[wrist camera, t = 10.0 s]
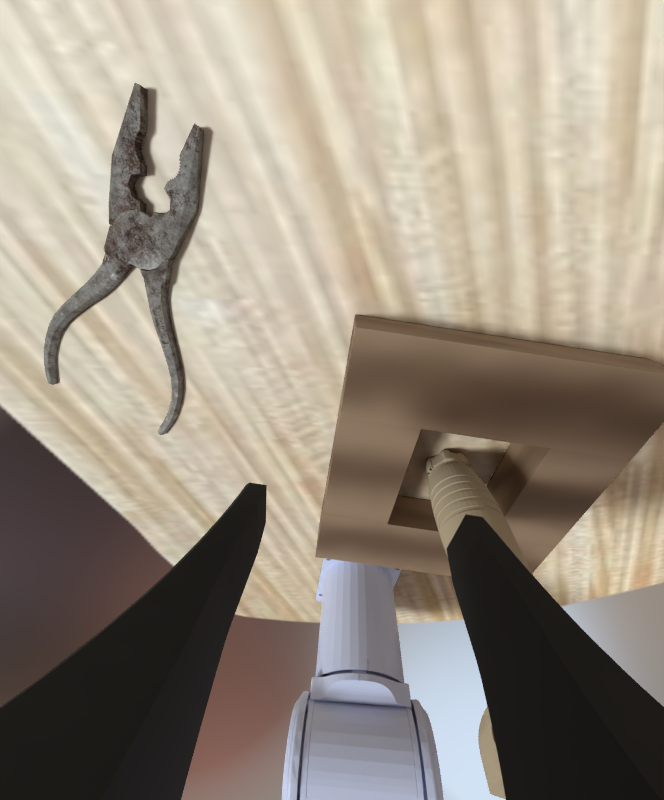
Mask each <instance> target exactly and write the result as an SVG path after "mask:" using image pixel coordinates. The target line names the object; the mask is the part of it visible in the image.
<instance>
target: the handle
mask: <svg viewBox="0 0 664 800" xmlns="http://www.w3.org/2000/svg"><path fill="white" fill-rule="evenodd" d="M470 465H471V464H470V462H469V461H468V460H467V459H466V457H465V456H464V455H463V454H461V453H452V452H450V451H449V450H443V451H441V452H440V453H439V454H438V455H436V456H434V457H432V458H429V459H428V460H427V462H426V471H427V474H428V480H429V481H428V486H429V494H430V500H431V504H432V509H433V513H434V517H435V521H436V524H437V528H438V531H439V534H440V538H441V541H442V543H443V546H444V549H445V551H446V554H447V547H448V545H449V543H450V542H451V540H452V538H453V536H454V534H455V533H456V531H457V529H458V527H459V525H460V524H461V522H462V520H463V518H464V516H465V515H473V516H480V517H483V518H484V519H485V520H486V521H487V523H488V524H489V525H490V526H491V527H492V528H493V530H494V531H495V532H496V533H497V534H498V535H499V537H500V538H501V539H502V540H503V541H504V543H505V544H506V545H507V546H508V547H509V548H510V550H511V551H512V552H513V553H514V554H515V556H516V557H517V558H518V559H519V560H520V561H521V563H522V564H523V565H524V566H525V567H526V568H527V570H528V571H529V572H530V573H531V574H532V572H531V570H530V568H529V566H528V564H527V562H526V560H525V558H524V555H523V553H522V551H521V549H520V547H519V545H518V543H517V541H516V539H515V537H514V534H513V532H512V530H511V528H510V526H509V524H508V522H507V520H506V519H505V517H504V515H503V513H502V511H501V509H500V508H499V506H498V504H497V502H496V501H495V499H494V497H493V496H492V494H491V493H490V491H489V490H488V488H487V487H486V485H485V484H484V482H483V481H482V480H481V478H480V477H479V476H478V475H477V474H476V472H475V471H474V470H473V469H472V468H471V467H470ZM447 557H448V555H447ZM532 575H533V574H532ZM479 749H480V754H481V758H482V762H483V767H484V771H485V775H486V779H487V783H488V786H489V790H490V794H493V795H495V796H498V797H501V798H504V799H506V797H505V791H504V786H503V780H502V775H501V769H500V764H499V759H498V754H497V749H496V744H495V739H494V734H493V729H492V724H491V719H490V715H489V710H488V707H487V708H486V710H485V712H484V714H483V716H482V719H481V723H480V727H479Z"/></svg>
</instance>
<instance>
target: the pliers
mask: <svg viewBox="0 0 664 800" xmlns="http://www.w3.org/2000/svg"><path fill="white" fill-rule="evenodd" d="M146 133H147V90H146V89H145V88H143V87H142V86H141V85H139V84H137V83H135V84H134V87H133V91H132V94H131V97H130V100H129V103H128V106H127V110H126V113H125V116H124V119H123V122H122V126H121V129H120V132H119V135H118V138H117V141H116V145H115V148H114V151H113V154H112V163H111V179H110V194H109V224H111V226H110V227H109V231H108V235H107V239H106V242H105V246H104V251H105V252H106V253H105V256H104V259H103V263H102V265H101V266H100V268H99V269H98V270H97V272H96V273H95V274H94V275H93V276H92V278H91V279H90V280H89V281H88V282H87V283H86V284H85V285H84V286H83V287H81V288H80V289H79V290H78V291H77V292H76V293H75V294H74V295H73V296H72V297H71V298H70V299H69V300H67V301H66V302H65V303H64V304H63V305H62V306H61V307H60V309H59V310H58V311H57V312H56V313H55V315H54V316H53V318H52V320H51V322H50V324H49V327H48V330H47V334H46V338H45V346H44V366H45V372H46V377H47V380H48V383H49V384H53V385H54V384H56V383H57V382H58V377H57V369H56V353H57V348H58V343H59V340H60V338H61V335H62V333H63V331H64V330H65V328H66V327H67V325H68V324H69V323H70V322H71V321H72V320H73V319H74V318H75V317H76V316H78V315H79V314H80V313H82V312H83V311H84V310H86V309H87V308H88V307H90V306H91V305H92V304H94V303H95V302H97V301H99V300H100V299H102V298H103V297H105V296H106V295H107V294H108V293H110V292H111V291H112V290H113V289H114V288H115V287H116V286H117V285H118V284H119V283H120V282H121V281H122V280H123V278H124V277H125V276H126V274H127V273H128V272H129V271H130V269H131V267H132V265H134V266H136V267H138V268H139V269H140V270H141V273H142V276H143V277H144V282H145V287H146V292H147V297H148V302H149V307H150V312H151V315H152V319H153V322H154V325H155V328H156V331H157V334H158V337H159V339H160V342H161V345H162V348H163V352H164V355H165V358H166V361H167V364H168V368H169V372H170V376H171V384H172V396H171V403H170V408H169V411H168V414H167V416H166V418H165V420H164V422H163V423H162V425H161V426H160V428H159V430H158V433H159V434H160V435H163V434H165V433H166V432H167V431H168V430H169V429H170V427H171V426H172V424H173V423H174V421H175V419H176V417H177V415H178V413H179V409H180V406H181V402H182V396H183V373H182V366H181V362H180V358H179V353H178V349H177V345H176V341H175V336H174V332H173V328H172V323H171V318H170V312H169V304H168V290H169V283H170V277H171V270H172V264H173V259H175V256H176V254H177V252H178V250H179V248H180V246H181V244H182V242H183V240H184V238H185V236H186V234H187V232H188V230H189V228H190V226H191V224H192V222H193V220H194V218H195V216H196V214H197V212H198V207H199V193H200V179H201V165H202V151H203V137H204V131H203V130H202V129H201V128H200V127H199V126H197V125H196V124H195V123H194V125H193V128H192V130H191V132H190V134H189V136H188V138H187V141H186V143H185V145H184V147H183V149H182V151H181V154H180V161H181V162H180V164H181V165H180V169H179V170H180V171H178V172H179V174H177V176H176V178H175V177H174V179H172V180H170V181H168V182H167V184H166V186H165V188H164V189H165V191H166V193H167V194H168V196H169V198H170V211H168V212H167V213H165V214H161V213H157V212H153V214H152V216H151V215H150V214H148V213H147V212H146V204H145V203H144V202H143V201H142V200H141V199H140V198H139V197H138V196H137V193H136V190H135V187H134V185H135V182H136V180H137V177H139V176H147V166H146V164H145V161H144V158H143V155H142V151H141V150H142V148H141V147H142V145H141V144H142V141H143V138H144V136H146Z"/></svg>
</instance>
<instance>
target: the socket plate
mask: <svg viewBox="0 0 664 800" xmlns="http://www.w3.org/2000/svg"><path fill="white" fill-rule="evenodd" d="M663 422H664V365H662V364H659V363H657V362H654V361H651V360H649V359H645V358H638V357H632V356H625V355H618V354H612V353H605V352H599V351H592V350H585V349H579V348H572V347H566V346H559V345H552V344H546V343H539V342H532V341H526V340H519V339H513V338H506V337H499V336H493V335H486V334H480V333H473V332H466V331H460V330H453V329H446V328H440V327H433V326H427V325H420V324H413V323H407V322H400V321H394V320H387V319H380V318H374V317H367V316H361V315H355V319H354V325H353V331H352V337H351V343H350V348H349V354H348V360H347V366H346V372H345V378H344V384H343V389H342V395H341V401H340V407H339V413H338V419H337V425H336V430H335V436H334V442H333V448H332V454H331V460H330V465H329V471H328V477H327V483H326V489H325V495H324V501H323V506H322V512H321V518H320V524H319V531H318V540H317V548H316V556H315V557H319V558H326V559H333V560H340V561H347V562H354V563H361V564H368V565H375V566H382V567H389V568H396V569H402V570H409V571H416V572H423V573H430V574H437V575H444V576H451V572H450V567H449V561H448V557H447V554H446V551H445V549H444V546H443V543H442V541H441V538H440V534H439V531H438V528H437V524H436V521H435V517H434V513H433V509H432V504H431V501H429V500H423V499H416V498H409V497H402V496H397V495H398V493H399V490H400V487H401V484H402V481H403V479H404V476H405V473H406V470H407V467H408V465H409V462H410V459H411V456H412V453H413V451H414V448H415V445H416V442H417V439H418V437H419V434H420V431H421V429H424V430H431V431H438V432H445V433H451V434H458V435H465V436H472V437H478V438H485V439H492V440H499V441H505V442H512V443H511V445H510V446H509V448H508V450H507V452H506V453H505V455H504V457H503V459H502V460H501V462H500V464H499V466H498V467H497V469H496V471H495V473H494V474H493V476H492V478H491V480H490V481H489V483H488V485H487V488H488V490H489V491H490V493H491V494H492V496H493V497H494V499H495V501H496V502H497V504H498V506H499V508H500V509H501V511H502V513H503V515H504V517H505V519H506V520H507V522H508V524H509V526H510V528H511V530H512V532H513V534H514V537H515V539H516V541H517V543H518V545H519V547H520V549H521V551H522V553H523V555H524V558H525V560H526V562H527V564H528V566H529V568H530V570H531V572H532V573H533V572H534V571H535V569H536V568H537V567H538V566H539V565H540V564H541V563H542V561H543V560H544V559H545V558H546V557H547V556H548V555H549V553H550V552H551V551H552V550H553V549H554V548H555V546H556V545H557V544H558V543H559V542H560V541H561V540H562V538H563V537H564V536H565V535H566V534H567V533H568V532H569V530H570V529H571V528H572V527H573V526H574V525H575V523H576V522H577V521H578V520H579V519H580V518H581V517H582V515H583V514H584V513H585V512H586V511H587V510H588V508H589V507H590V506H591V505H592V504H593V503H594V502H595V500H596V499H597V498H598V497H599V496H600V495H601V494H602V492H603V491H604V490H605V489H606V488H607V487H608V485H609V484H610V483H611V482H612V481H613V480H614V479H615V477H616V476H617V475H618V474H619V473H620V472H621V471H622V469H623V468H624V467H625V466H626V465H627V464H628V462H629V461H630V460H631V459H632V458H633V457H634V456H635V454H636V453H637V452H638V451H639V450H640V449H641V448H642V446H643V445H644V444H645V443H646V442H647V441H648V439H649V438H650V437H651V436H652V435H653V434H654V433H655V431H656V430H657V429H658V428H659V427H660V426H661V425H662V423H663Z"/></svg>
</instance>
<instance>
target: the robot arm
mask: <svg viewBox="0 0 664 800" xmlns="http://www.w3.org/2000/svg"><path fill="white" fill-rule="evenodd" d="M265 523H266V485H261V484H254V483H248V484H247V485H246V486H245V487H244V489H243V490H242V491H241V493H240V494H239V495H238V497H237V498H236V499H235V500H234V502H233V503H232V504H231V505H230V507H229V508H228V509H227V510H226V511H225V513H224V514H223V515H222V516H221V517H220V518H219V519H218V521H217V522H216V523H215V524H214V525H213V526H212V527H211V528H210V530H209V531H208V532H207V533H206V534H205V535H204V536H203V537H202V538H201V539H200V541H199V542H198V543H197V544H196V545H195V546H194V547H193V548H192V549H191V550H190V551H189V552H188V553H187V554H186V555H185V556H184V557H183V558H182V559H181V560H180V561H179V562H178V563H177V564H176V565H175V566H174V567H173V568H172V569H171V570H170V571H169V572H168V573H167V574H166V575H165V576H163V578H161V579H160V580H159V581H158V582H157V583H156V584H155V585H154V586H153V587H152V588H151V589H149V590H148V591H147V592H146V593H145V594H144V595H143V596H142V597H140V598H139V599H138V600H137V601H136V602H135V603H134V604H132V605H131V606H130V607H129V608H128V609H127V610H125V611H124V612H123V613H122V614H121V615H119V616H118V617H117V618H116V619H115V620H114V621H112V622H111V623H110V624H109V625H108V626H106V627H105V628H104V629H103V630H101V631H100V632H99V633H98V634H97V635H95V636H94V637H93V638H91V639H90V640H89V641H88V642H86V643H85V644H84V645H83V646H81V647H80V648H79V649H77V650H76V651H75V652H74V653H72V654H71V655H70V656H68V657H67V658H66V659H65V660H63V661H62V662H61V663H59V664H58V665H57V666H56V667H54V668H53V669H52V670H50V671H49V672H48V673H47V674H45V675H44V676H43V677H41V678H40V679H39V680H37V681H36V682H35V683H33V684H32V685H30V686H29V687H28V688H26V689H25V690H24V691H22V692H21V693H19V694H18V695H17V696H16V697H14V698H12V699H11V700H10V701H8V702H7V703H6V704H4V705H3V706H2V707H0V800H181V797H182V793H183V790H184V786H185V782H186V778H187V775H188V771H189V767H190V763H191V760H192V756H193V753H194V749H195V745H196V742H197V737H198V734H199V731H200V727H201V723H202V720H203V716H204V713H205V709H206V706H207V702H208V699H209V695H210V691H211V688H212V685H213V681H214V678H215V674H216V670H217V667H218V664H219V660H220V657H221V653H222V650H223V647H224V643H225V640H226V637H227V634H228V631H229V628H230V625H231V622H232V620H233V617H234V614H235V612H236V609H237V606H238V604H239V601H240V598H241V596H242V593H243V590H244V588H245V585H246V582H247V580H248V577H249V574H250V572H251V569H252V566H253V564H254V561H255V558H256V555H257V553H258V549H259V546H260V542H261V538H262V534H263V531H264V527H265ZM447 555H448V561H449V567H450V572H451V577H452V581H453V585H454V588H455V592H456V595H457V598H458V602H459V605H460V608H461V611H462V615H463V618H464V621H465V624H466V628H467V631H468V634H469V637H470V641H471V644H472V646H473V650H474V654H475V657H476V660H477V664H478V667H479V671H480V675H481V679H482V683H483V688H484V692H485V696H486V701H487V706H488V710H489V715H490V719H491V724H492V729H493V734H494V739H495V744H496V749H497V754H498V759H499V764H500V769H501V775H502V780H503V786H504V791H505V797H506V800H664V707H663V706H662V705H661V704H660V703H659V702H657V701H656V700H655V699H654V698H653V697H652V696H651V695H650V694H649V693H647V692H646V691H645V690H644V689H643V688H642V687H641V686H640V685H639V684H638V683H636V682H635V680H633V679H632V678H631V677H630V676H629V675H628V674H627V673H626V672H625V671H624V670H623V669H622V668H621V667H620V666H619V665H618V664H617V663H616V662H615V661H614V660H613V659H612V658H611V657H610V656H609V655H607V654H606V653H605V652H604V651H603V650H602V649H601V648H600V647H599V646H598V645H597V644H596V643H595V642H594V641H593V640H592V639H591V638H590V637H589V636H588V635H587V634H586V633H585V632H584V631H583V630H582V629H581V628H580V627H579V625H578V624H577V623H576V622H575V621H574V620H573V619H572V618H571V617H570V616H569V615H568V614H567V613H566V612H565V611H564V610H563V608H562V607H561V606H560V605H559V604H558V603H557V602H556V601H555V600H554V599H553V598H552V597H551V595H550V594H549V593H548V592H547V591H546V590H545V589H544V588H543V587H542V585H541V584H540V583H539V582H538V581H537V580H536V579H535V578H534V576H533V575H532V574H531V573H530V572H529V571H528V570H527V568H526V567H525V566H524V565H523V564H522V563H521V561H520V560H519V559H518V558H517V557H516V556H515V554H514V553H513V552H512V551H511V550H510V548H509V547H508V546H507V545H506V544H505V543H504V541H503V540H502V539H501V538H500V537H499V535H498V534H497V533H496V532H495V531H494V530H493V528H492V527H491V526H490V525H489V524H488V523H487V521H486V520H485V519H484V518H483V517H480V516H473V515H465V516H464V518H463V520H462V522H461V524H460V525H459V527H458V529H457V531H456V533H455V534H454V536H453V538H452V540H451V542H450V543H449V545H448V547H447ZM401 570H402V569H396V568H389V567H382V566H375V565H368V564H361V563H354V562H347V561H340V560H333V559H326V558H324V559H323V564H322V569H321V574H320V579H319V584H318V589H317V594H316V600H317V601H320V602H322V609H321V621H320V633H319V644H318V656H317V668H316V677H312V681H311V691H310V692H307V691H304V692H303V693H302V694H301V697H300V698H299V699H298V700H297V702H296V703H295V706H294V708H293V712H292V717H291V722H290V727H289V733H288V740H287V747H286V756H285V764H284V775H283V776H284V777H283V789H282V800H443V791H442V783H441V775H440V768H439V763H438V756H437V751H436V745H435V740H434V736H433V731H432V727H431V723H430V720H429V717H428V715H427V713H426V711H425V710H424V709H423V707H422V706H421V704H420V702H419V701H418V700H411V699H410V691H409V685H408V684H406V683H404V676H403V668H402V660H401V651H400V643H399V634H398V626H397V617H396V609H395V600H394V592H393V588H394V586H395V584H396V581H397V579H398V577H399V575H400V573H401Z"/></svg>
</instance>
